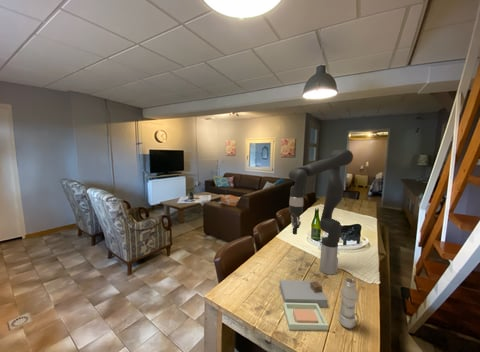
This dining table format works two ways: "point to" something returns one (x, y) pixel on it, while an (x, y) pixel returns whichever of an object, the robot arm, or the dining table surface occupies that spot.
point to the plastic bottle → (348, 304)
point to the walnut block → (316, 286)
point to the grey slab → (301, 293)
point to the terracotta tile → (305, 316)
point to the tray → (294, 325)
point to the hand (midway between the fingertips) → (294, 233)
